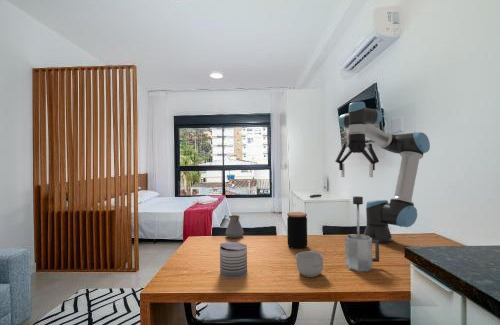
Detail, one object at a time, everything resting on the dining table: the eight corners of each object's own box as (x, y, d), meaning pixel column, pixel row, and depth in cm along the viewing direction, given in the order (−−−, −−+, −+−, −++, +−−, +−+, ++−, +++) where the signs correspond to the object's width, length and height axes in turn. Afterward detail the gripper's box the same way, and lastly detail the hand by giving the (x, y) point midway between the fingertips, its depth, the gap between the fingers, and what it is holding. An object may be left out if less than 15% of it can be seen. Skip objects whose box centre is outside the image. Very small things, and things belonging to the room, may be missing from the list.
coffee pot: (224, 235, 180) (224, 211, 180) (242, 233, 182) (241, 210, 182) (228, 244, 159) (228, 217, 159) (248, 242, 161) (248, 216, 162)
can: (220, 268, 122) (220, 241, 122) (246, 267, 123) (246, 240, 123) (219, 279, 111) (219, 248, 111) (248, 278, 111) (247, 247, 111)
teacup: (318, 281, 107) (317, 260, 107) (291, 276, 113) (291, 256, 113) (328, 269, 119) (328, 251, 119) (304, 265, 125) (304, 247, 125)
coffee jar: (306, 243, 158) (305, 211, 158) (308, 249, 147) (307, 215, 147) (287, 243, 159) (286, 211, 159) (287, 249, 148) (287, 215, 148)
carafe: (373, 262, 127) (373, 234, 127) (384, 271, 116) (383, 240, 116) (343, 262, 127) (342, 234, 127) (350, 271, 116) (350, 240, 117)
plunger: (364, 240, 125) (363, 195, 126) (371, 245, 118) (370, 197, 118) (346, 240, 126) (345, 195, 126) (352, 245, 118) (351, 198, 118)
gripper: (379, 134, 141) (379, 177, 140) (329, 134, 142) (329, 176, 141) (386, 133, 133) (386, 177, 133) (333, 132, 134) (333, 177, 134)
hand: (356, 177), depth 137 cm, fingers open, 13 cm apart
